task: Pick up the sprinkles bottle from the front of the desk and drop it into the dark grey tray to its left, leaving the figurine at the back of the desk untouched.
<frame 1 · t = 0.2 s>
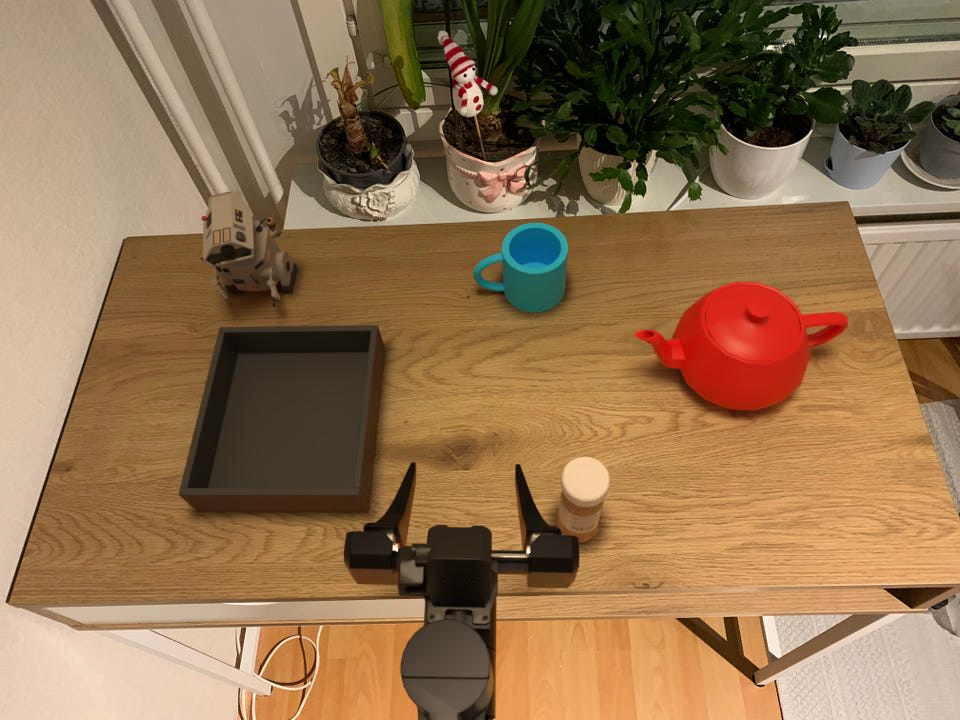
hand: (465, 464, 64), 18 cm above the table, tool horizontal, fingers open, 9 cm apart
teapot: (724, 365, 89), on the table
mug: (519, 289, 96), on the table
dark grey tray: (297, 426, 87), on the table
figurine: (261, 293, 98), on the table
sprinkles bottle: (577, 524, 80), on the table
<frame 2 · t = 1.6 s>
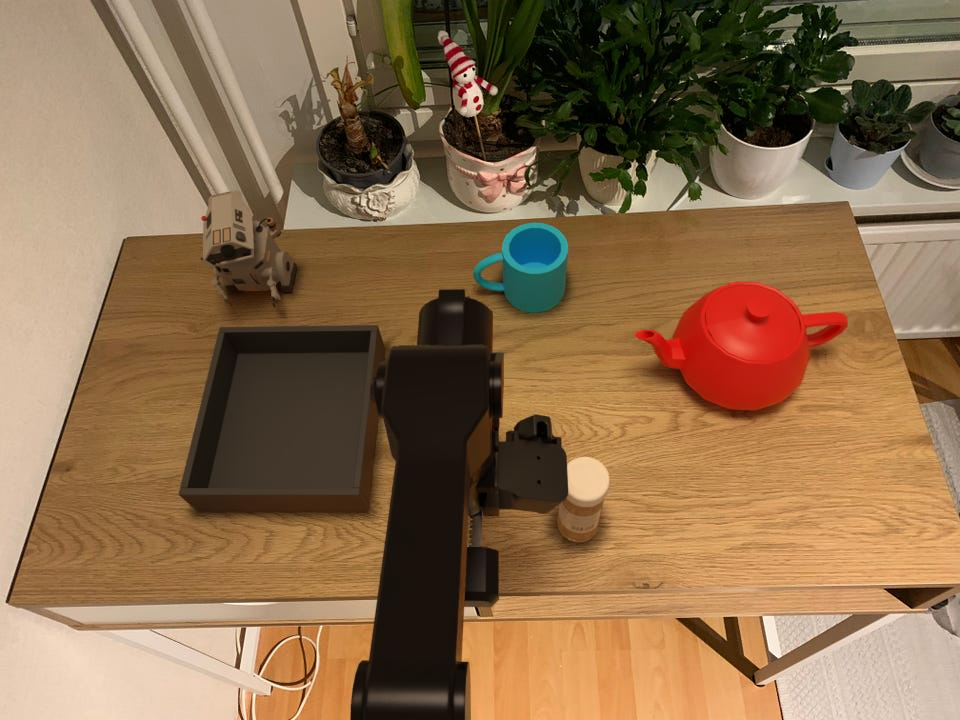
hand: (468, 519, 67), 13 cm above the table, tool pointing down, fingers open, 9 cm apart
nothing on the table moved.
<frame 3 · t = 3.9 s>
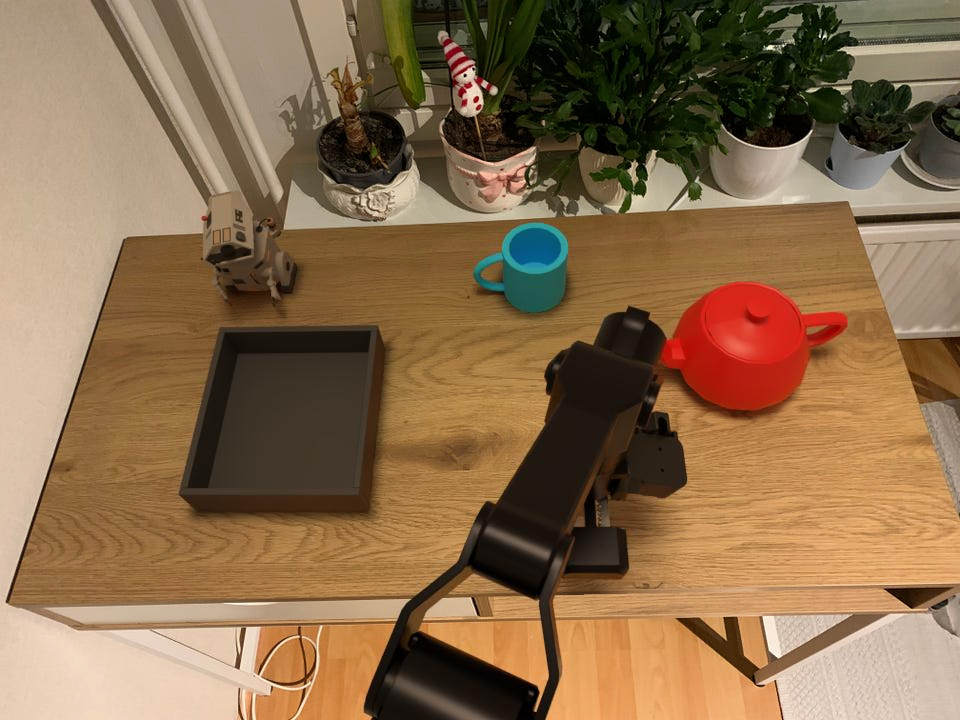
hand: (581, 504, 75), 6 cm above the table, tool pointing down
sprinkles bottle: (577, 524, 80), on the table, touching gripper
everything else where it was.
when the fingers open (7 cm above the table, at t = 10.9 s): sprinkles bottle stays where it is, resting on dark grey tray.
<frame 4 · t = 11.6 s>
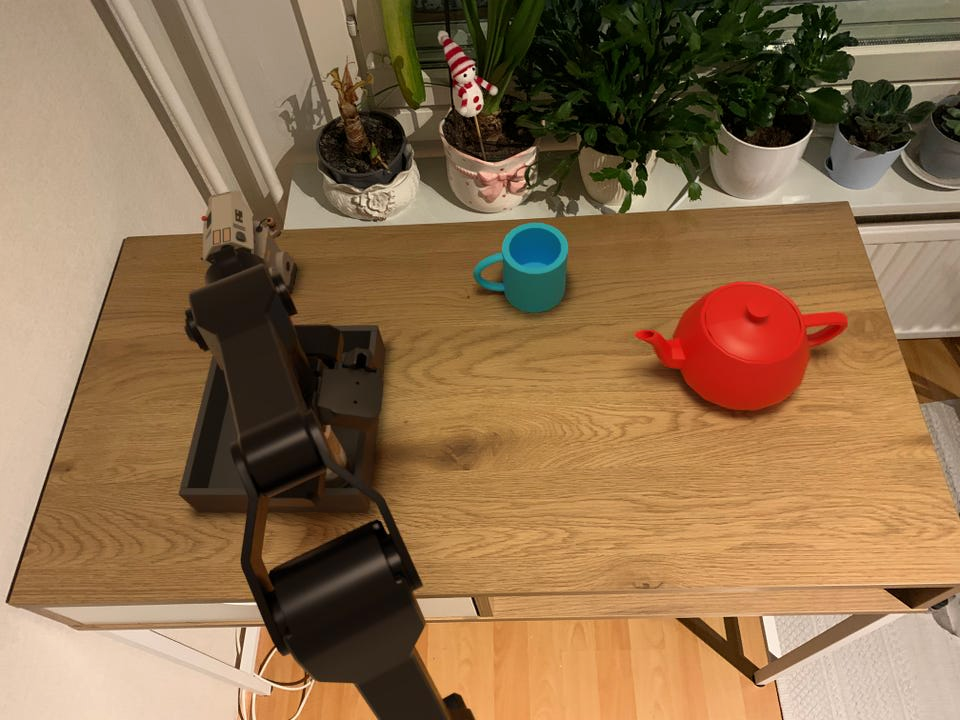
hand: (320, 446, 78), 7 cm above the table, tool pointing down, fingers open, 9 cm apart
sprinkles bottle: (334, 474, 83), resting on dark grey tray
everything else where it was.
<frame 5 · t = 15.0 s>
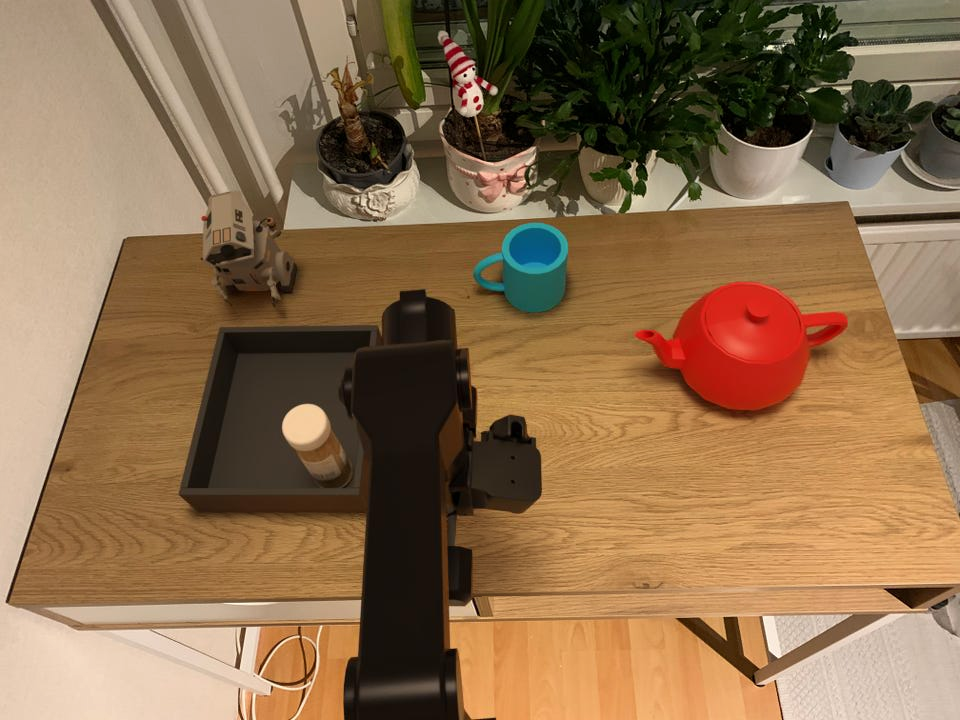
hand: (446, 519, 67), 13 cm above the table, tool pointing down, fingers open, 9 cm apart
nothing on the table moved.
at the end: sprinkles bottle inside the target area in the dark grey tray (8.4 cm from its centre), point 0.4 cm above the dark grey tray's base; the gripper is holding nothing; figurine moved 0.2 cm from its start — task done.
